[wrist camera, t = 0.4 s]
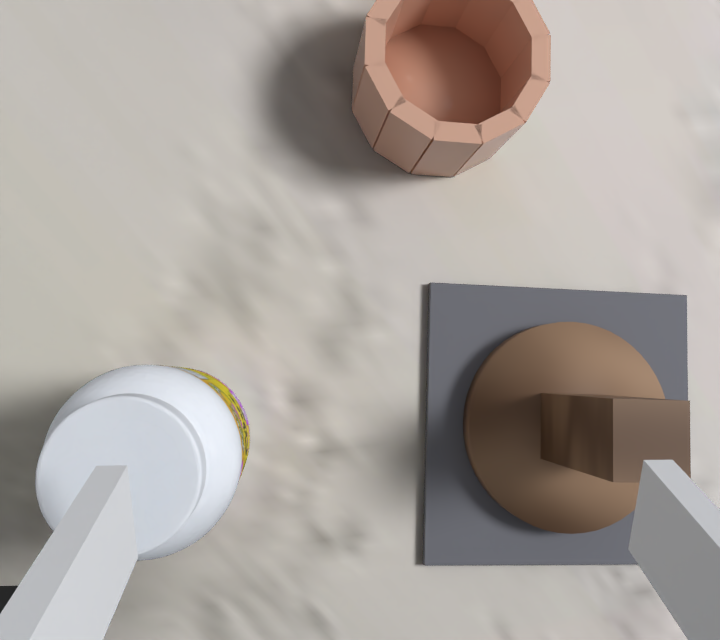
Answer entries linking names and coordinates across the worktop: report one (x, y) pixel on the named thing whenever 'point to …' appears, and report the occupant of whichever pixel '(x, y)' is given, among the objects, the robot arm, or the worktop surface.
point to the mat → (448, 395)
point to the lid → (569, 426)
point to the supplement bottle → (150, 451)
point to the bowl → (448, 79)
